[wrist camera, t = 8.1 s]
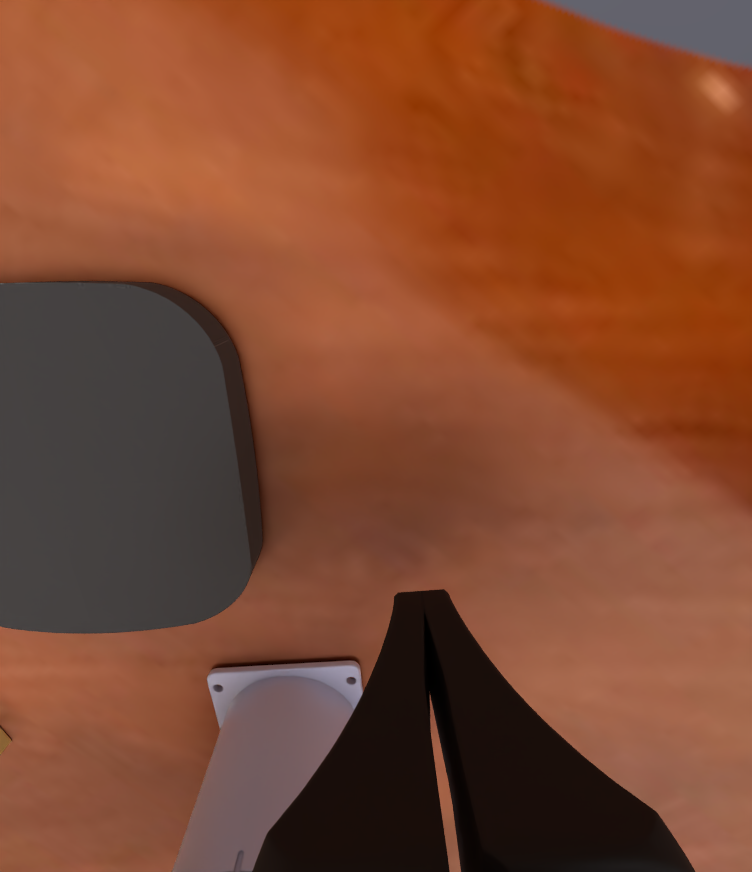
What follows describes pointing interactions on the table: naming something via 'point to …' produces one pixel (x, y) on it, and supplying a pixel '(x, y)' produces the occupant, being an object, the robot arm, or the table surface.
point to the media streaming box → (121, 460)
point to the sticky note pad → (3, 741)
